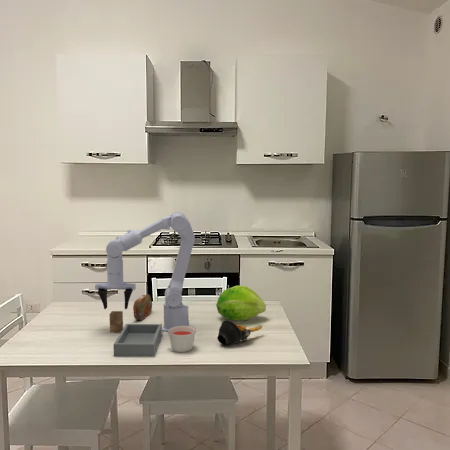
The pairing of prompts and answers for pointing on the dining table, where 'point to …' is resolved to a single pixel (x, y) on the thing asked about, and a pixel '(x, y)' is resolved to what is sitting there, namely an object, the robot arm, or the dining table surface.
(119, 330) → the block
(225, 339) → the fried shrimp in bowl
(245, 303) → the green papaya
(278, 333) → the dining table surface
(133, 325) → the bin
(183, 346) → the candle
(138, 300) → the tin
